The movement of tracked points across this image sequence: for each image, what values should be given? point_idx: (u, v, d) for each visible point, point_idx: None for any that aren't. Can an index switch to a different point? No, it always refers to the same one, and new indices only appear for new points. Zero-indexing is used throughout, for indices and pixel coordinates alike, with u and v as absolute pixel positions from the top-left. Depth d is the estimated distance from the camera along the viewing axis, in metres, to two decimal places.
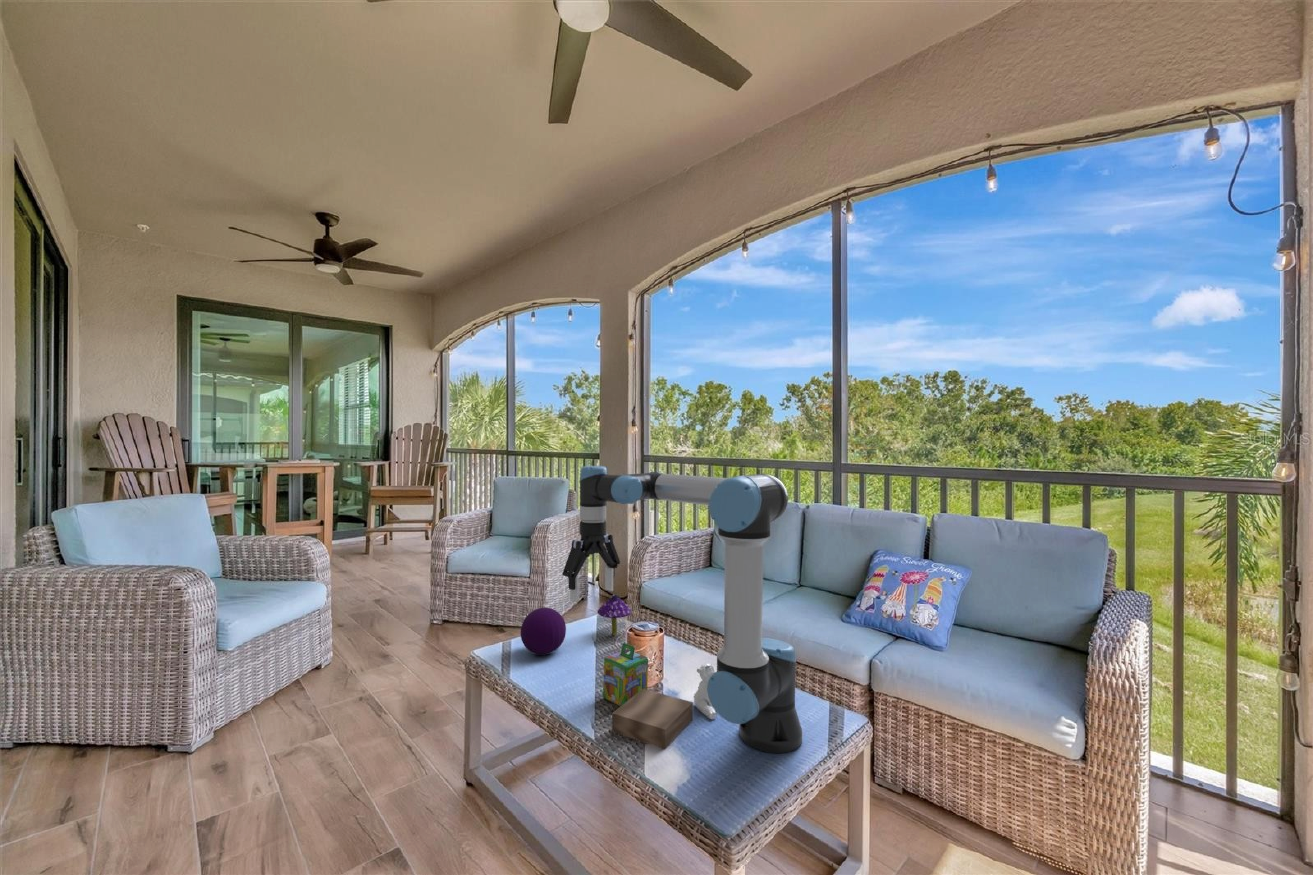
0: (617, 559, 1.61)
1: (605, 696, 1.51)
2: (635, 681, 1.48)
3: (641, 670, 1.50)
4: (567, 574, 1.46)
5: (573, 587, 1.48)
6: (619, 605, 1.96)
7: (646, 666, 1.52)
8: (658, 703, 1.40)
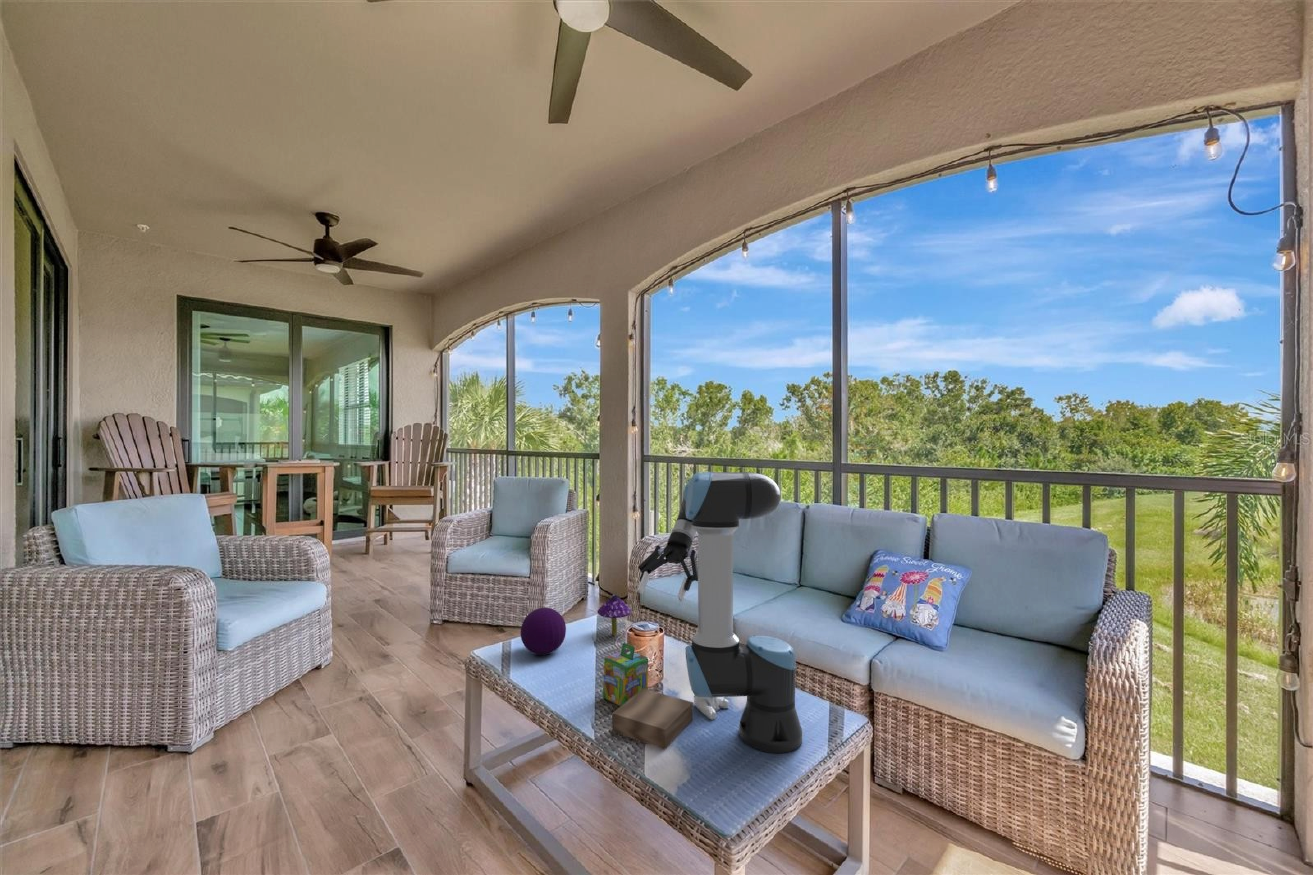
0: (694, 572, 1.63)
1: (605, 696, 1.51)
2: (635, 681, 1.48)
3: (641, 670, 1.50)
4: None
5: (640, 579, 1.69)
6: (619, 605, 1.96)
7: (646, 666, 1.52)
8: (658, 703, 1.40)
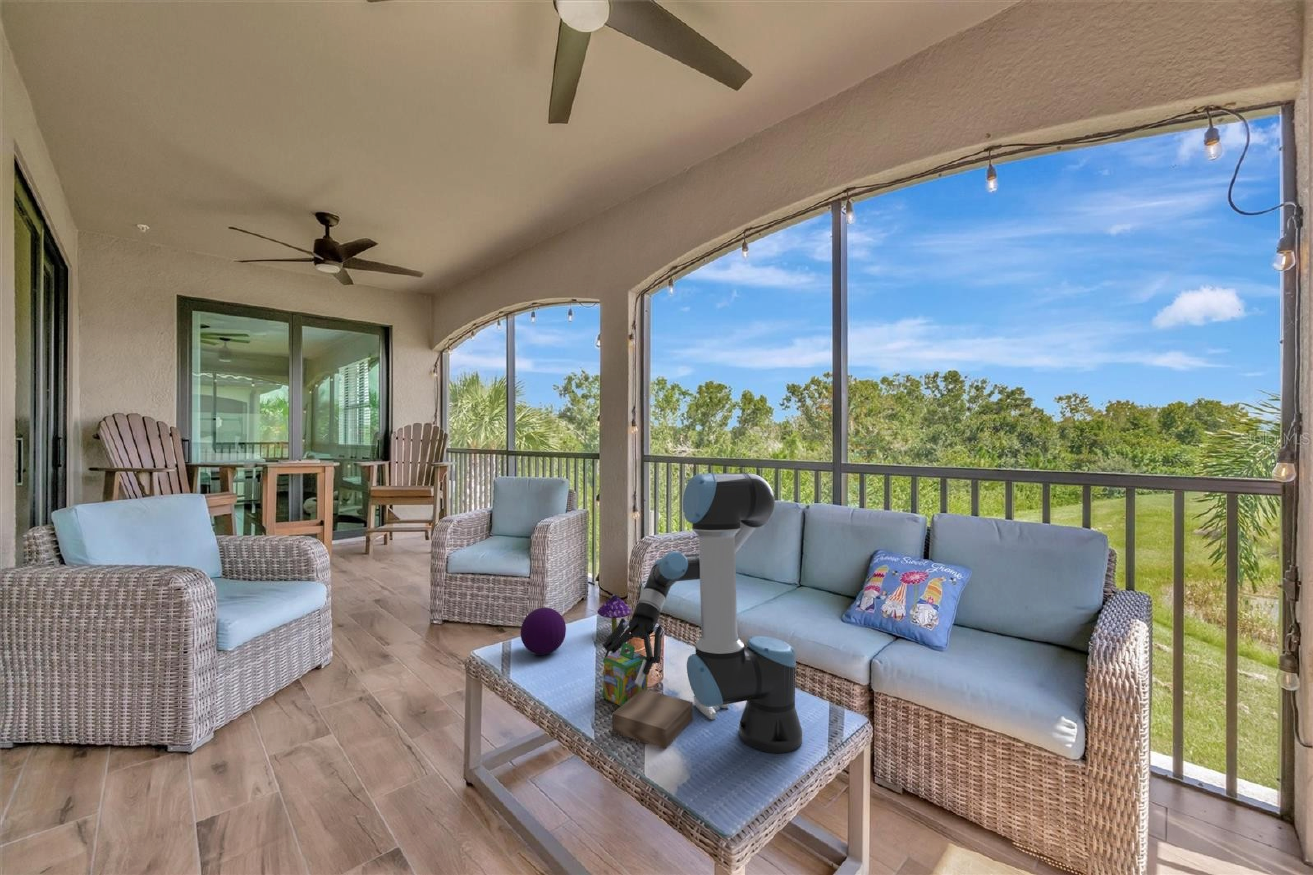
0: (655, 654, 1.50)
1: (605, 696, 1.51)
2: None
3: None
4: None
5: None
6: (619, 605, 1.96)
7: None
8: (658, 703, 1.40)
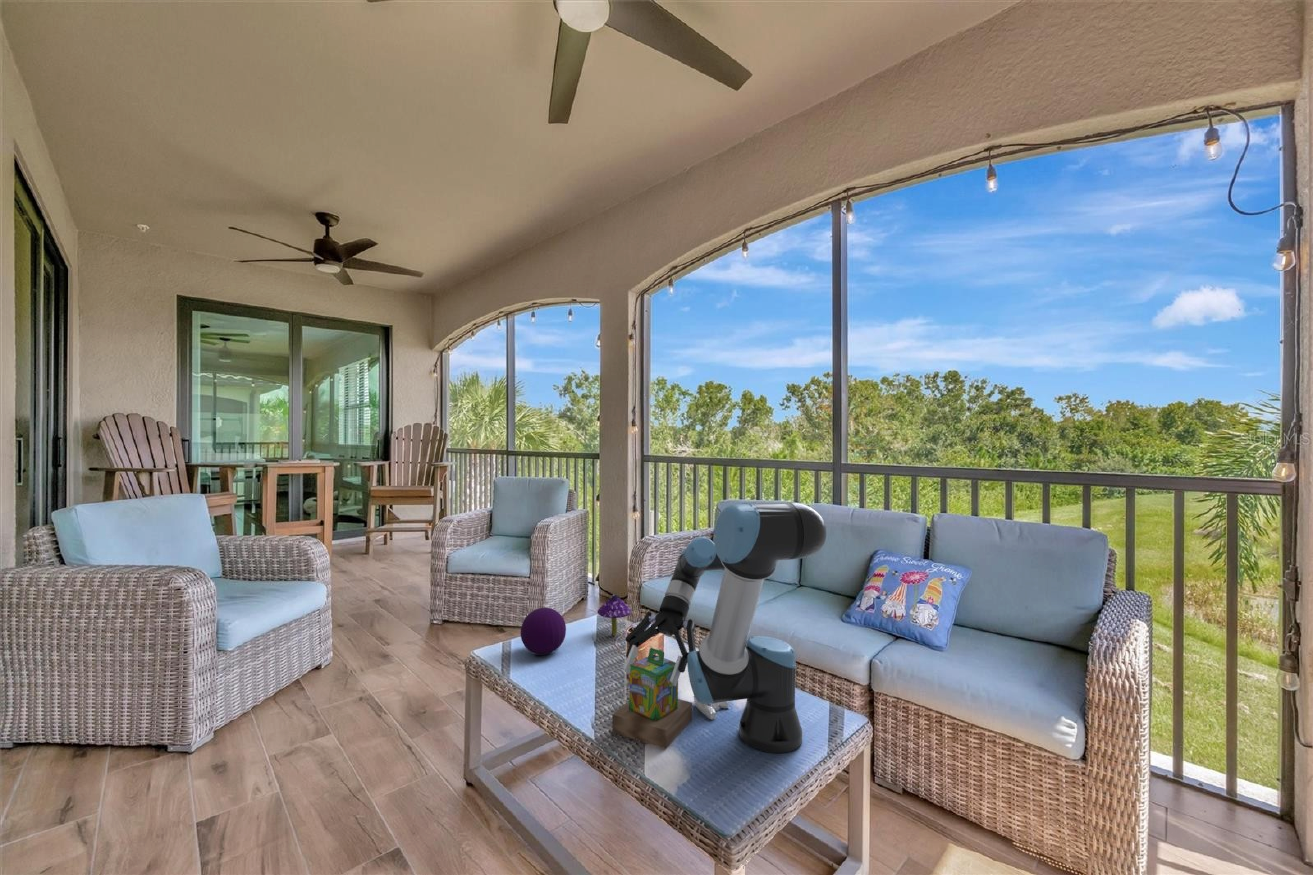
0: (691, 649, 1.36)
1: (632, 707, 1.36)
2: (665, 690, 1.34)
3: None
4: None
5: (627, 654, 1.42)
6: (619, 605, 1.96)
7: None
8: None
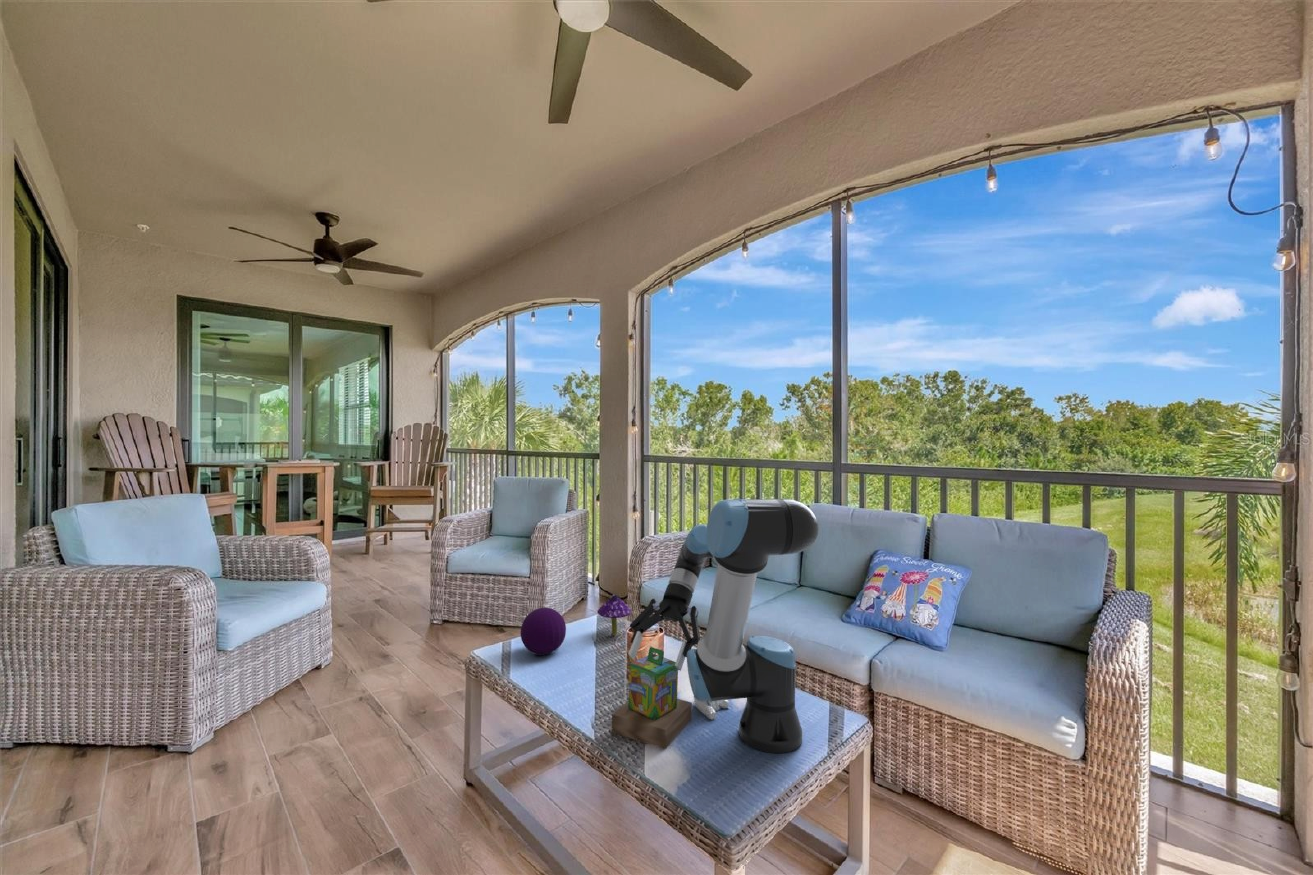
0: (695, 635, 1.39)
1: (631, 706, 1.36)
2: (665, 689, 1.34)
3: (671, 676, 1.36)
4: None
5: (632, 640, 1.44)
6: (619, 605, 1.96)
7: (676, 672, 1.38)
8: None
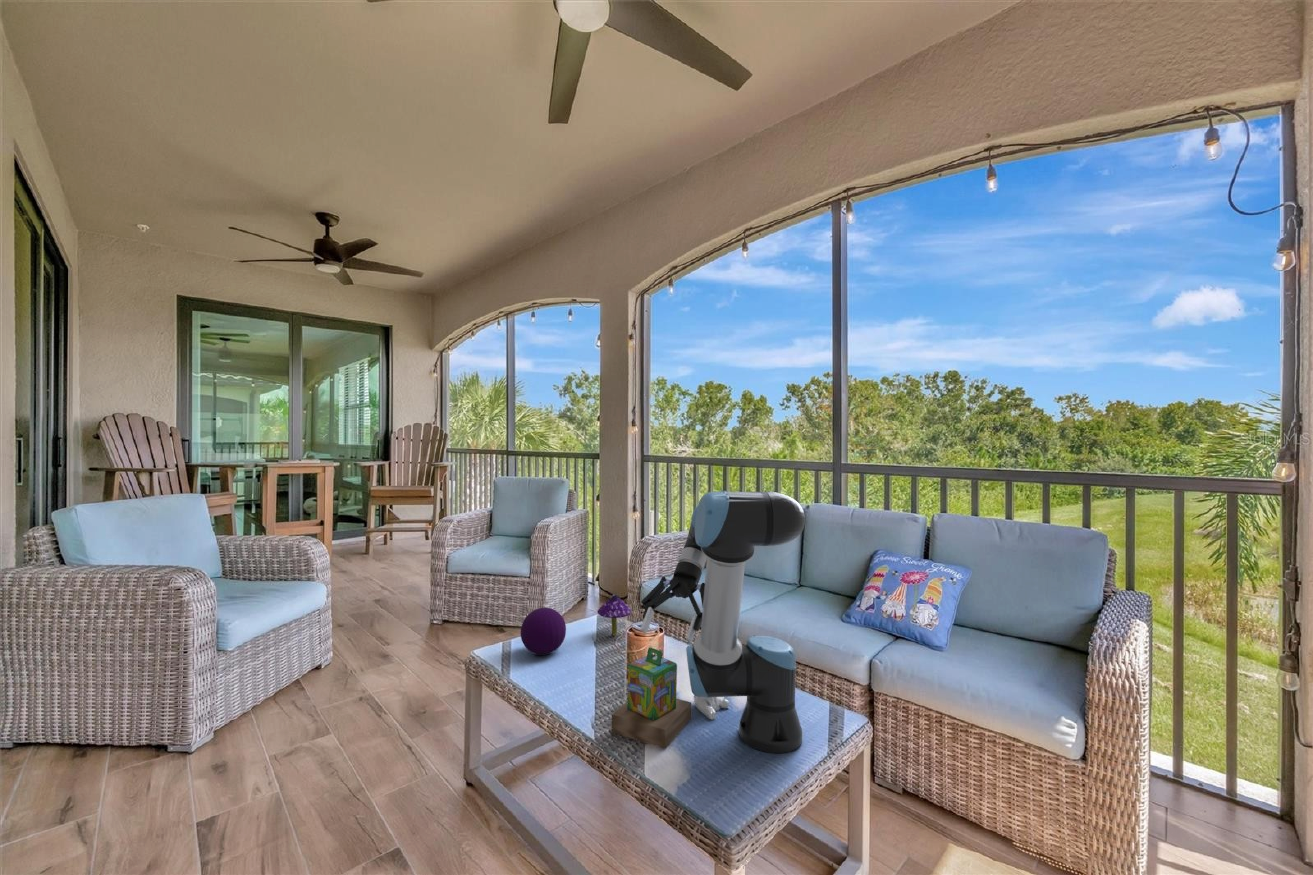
0: None
1: (630, 706, 1.36)
2: (663, 690, 1.34)
3: (670, 677, 1.36)
4: None
5: (644, 615, 1.50)
6: (619, 605, 1.96)
7: (675, 673, 1.37)
8: None
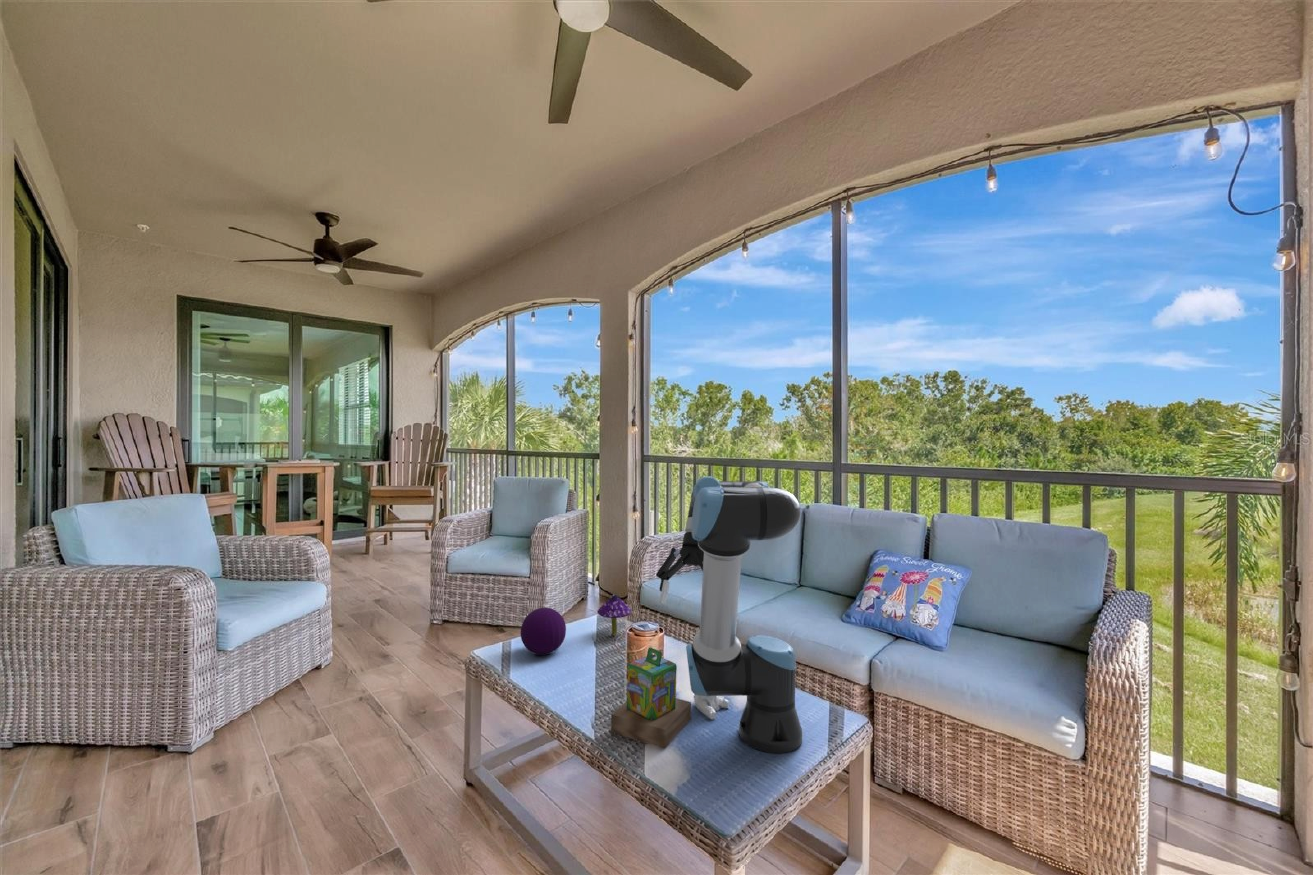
0: None
1: (629, 706, 1.36)
2: (662, 690, 1.34)
3: (669, 677, 1.35)
4: None
5: (661, 588, 1.59)
6: (619, 605, 1.96)
7: (674, 673, 1.37)
8: None
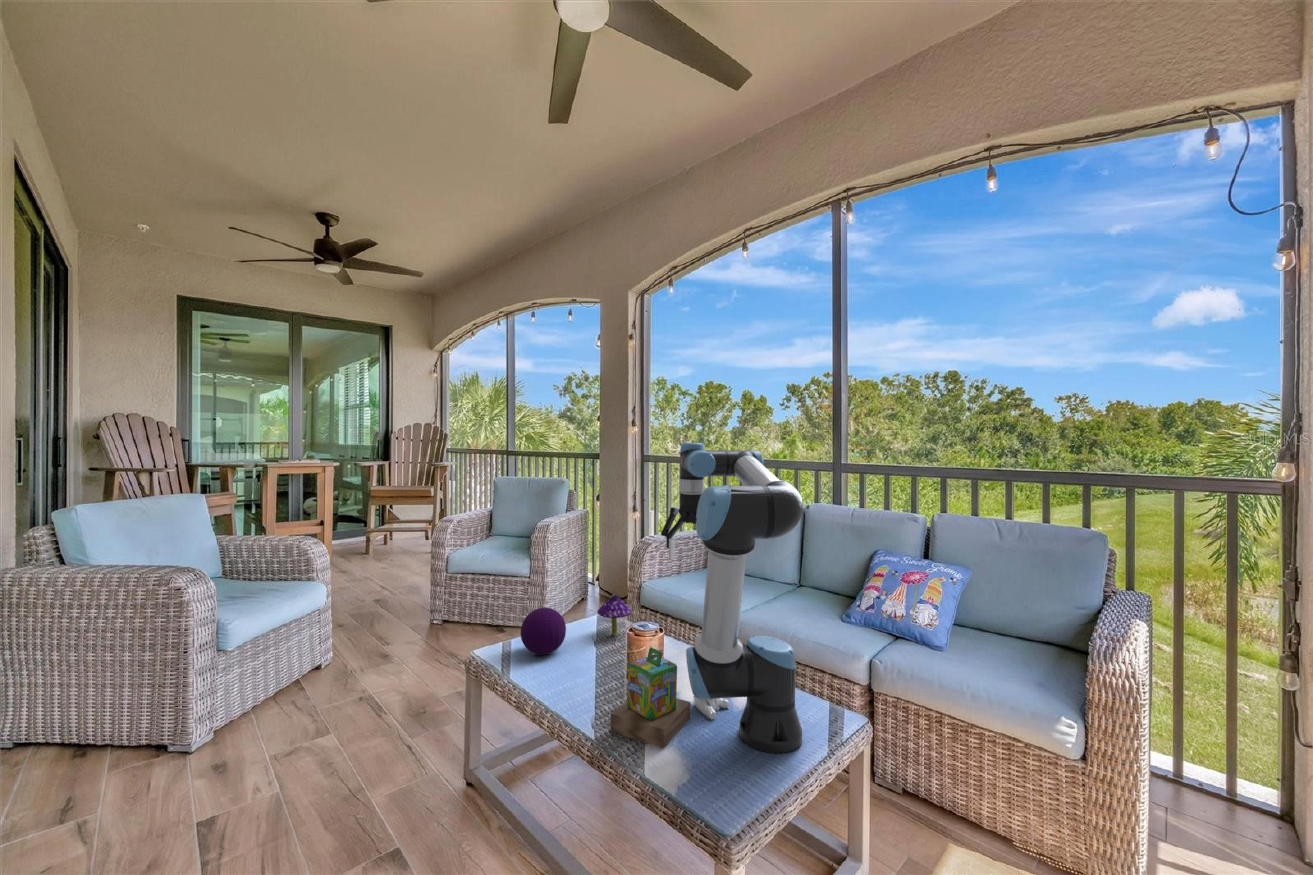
0: None
1: (629, 705, 1.37)
2: (662, 691, 1.34)
3: (669, 678, 1.35)
4: None
5: (668, 546, 1.70)
6: (619, 605, 1.96)
7: (675, 674, 1.36)
8: None
